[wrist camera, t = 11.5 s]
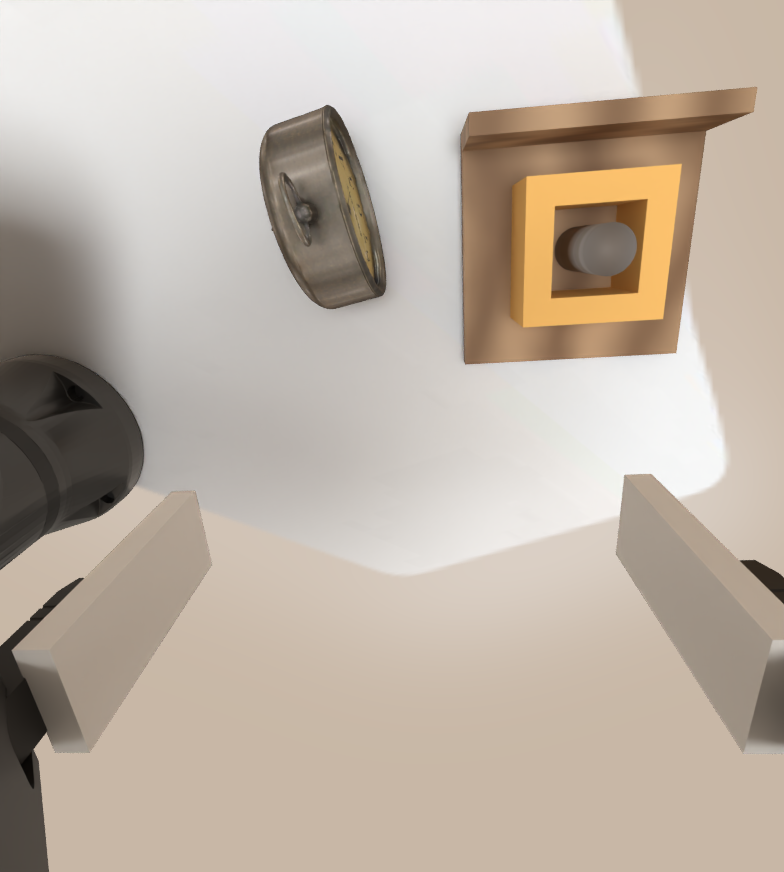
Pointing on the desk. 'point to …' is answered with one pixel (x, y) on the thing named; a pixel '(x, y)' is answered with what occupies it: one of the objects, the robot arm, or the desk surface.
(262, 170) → the alarm clock
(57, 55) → the desk surface
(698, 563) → the robot arm
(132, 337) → the desk surface
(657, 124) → the hook board
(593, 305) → the orange square frame
